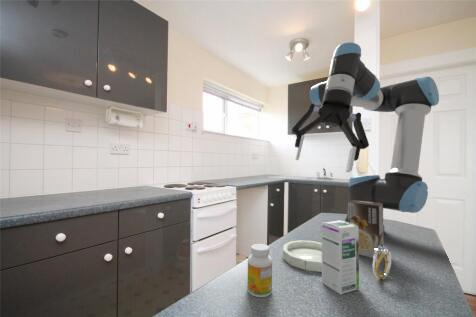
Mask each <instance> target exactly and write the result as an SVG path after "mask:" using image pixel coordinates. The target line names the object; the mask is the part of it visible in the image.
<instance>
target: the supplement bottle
mask: <svg viewBox="0 0 476 317" xmlns="http://www.w3.org/2000/svg"><path fill="white" fill-rule="evenodd" d="M250 253H251V254H250V255H249V256H248V258H247V292H248V293H249V294H250V295H251V296H252V297H256V298H265V297H269V296H270V295H271V293H272V290H273V259H272V257H271V256H270V245H267V244H264V243H254V244H252V245H251V247H250Z"/></svg>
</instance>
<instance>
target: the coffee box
mask: <svg viewBox="0 0 476 317" xmlns="http://www.w3.org/2000/svg"><path fill="white" fill-rule="evenodd" d="M347 213H348V222H349V223H352V224H355V225H357V226H358V227H359V256H363V257H367V258H371V259H373V256H374V250H375V247H378V246H379V245H380V246H381V247H382V248H384V233H383V224H384V208H383V203H375V202H367V201H358V200H352V201H350V202H349V201H348V202H347ZM381 254H382V253H380V254H379V253H378V255H377V260H378V258H379V257H380V256H381Z"/></svg>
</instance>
